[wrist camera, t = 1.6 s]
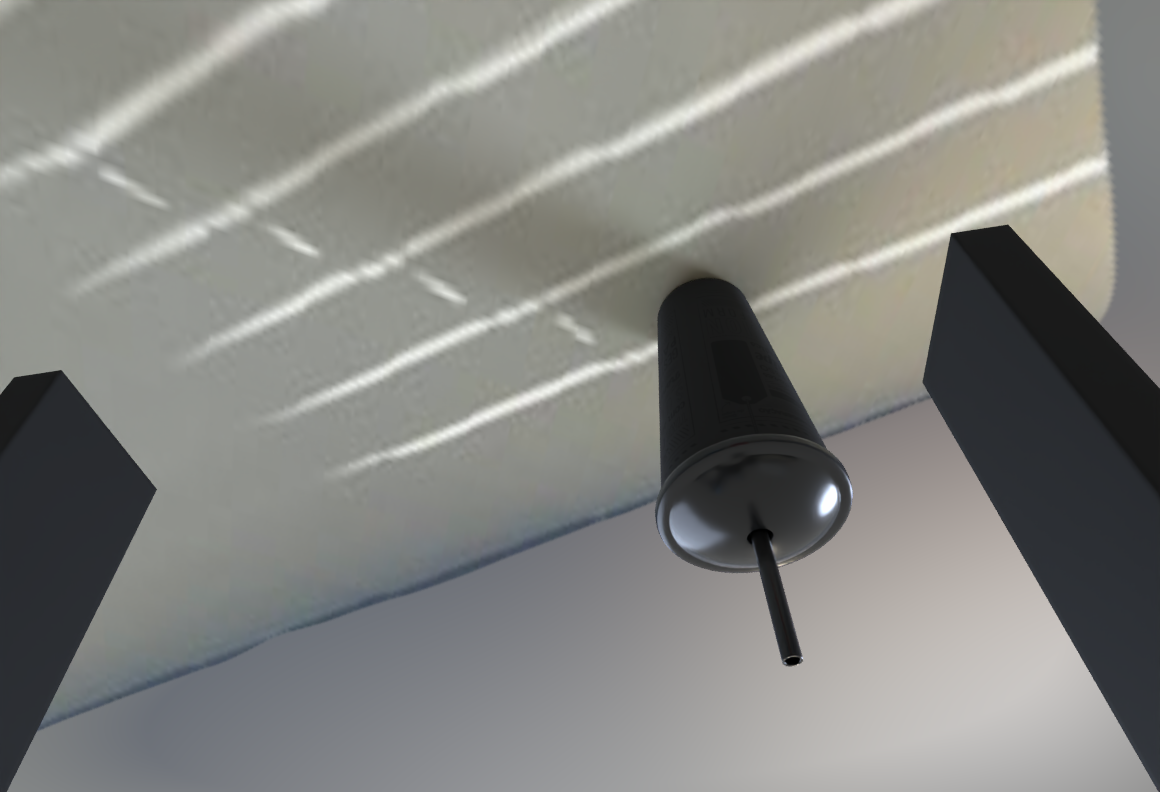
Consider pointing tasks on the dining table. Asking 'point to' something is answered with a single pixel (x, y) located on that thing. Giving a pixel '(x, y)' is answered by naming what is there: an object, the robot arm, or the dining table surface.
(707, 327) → the drinking cup
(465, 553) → the dining table surface
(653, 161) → the dining table surface
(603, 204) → the dining table surface
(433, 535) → the dining table surface
